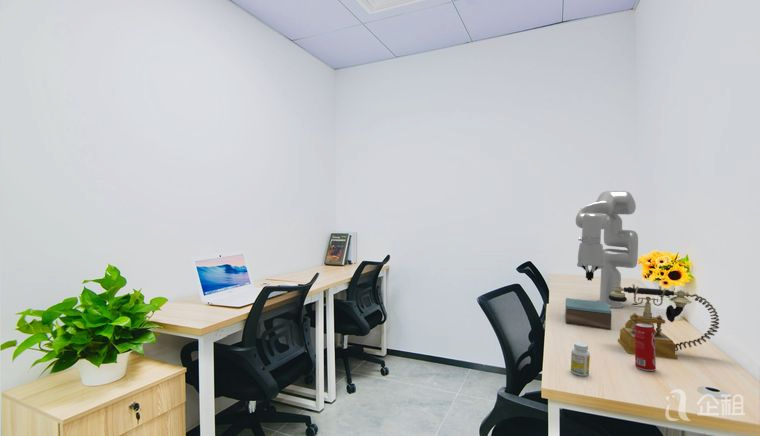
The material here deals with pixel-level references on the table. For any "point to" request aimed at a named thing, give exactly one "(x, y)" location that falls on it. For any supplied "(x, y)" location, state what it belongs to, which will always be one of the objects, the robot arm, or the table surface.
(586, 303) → the lid
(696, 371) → the table surface
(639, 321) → the rotary telephone
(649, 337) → the beverage can
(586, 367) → the supplement bottle
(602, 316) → the storage box
